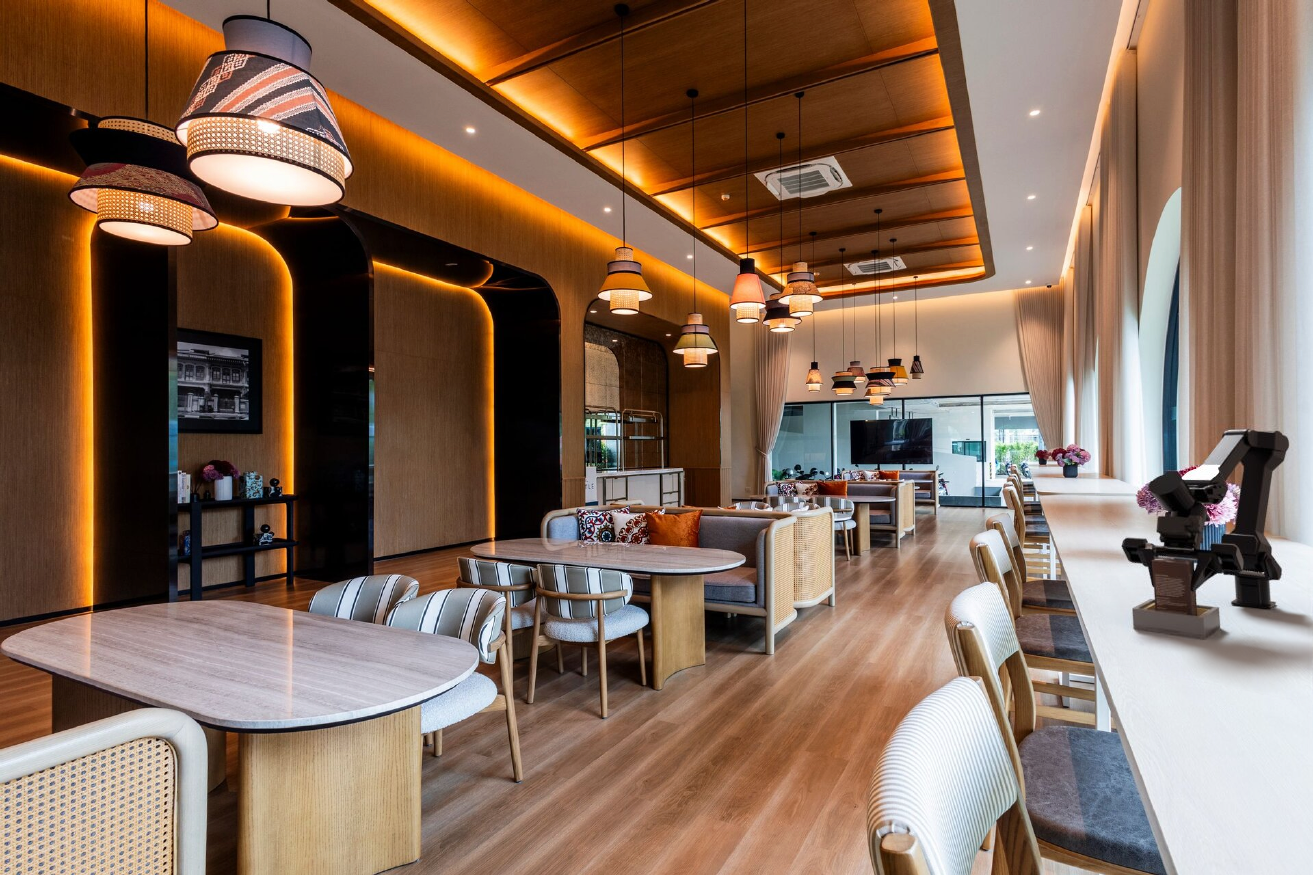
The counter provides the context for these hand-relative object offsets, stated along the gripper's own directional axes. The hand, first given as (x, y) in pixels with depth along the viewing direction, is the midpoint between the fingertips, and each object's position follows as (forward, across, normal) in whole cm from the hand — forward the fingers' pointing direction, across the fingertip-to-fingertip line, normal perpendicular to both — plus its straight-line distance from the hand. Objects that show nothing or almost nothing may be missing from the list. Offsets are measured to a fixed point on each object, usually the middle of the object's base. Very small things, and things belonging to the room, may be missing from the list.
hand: (1172, 588), depth 130 cm
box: (+4, 0, +6) cm, 7 cm away
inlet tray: (+5, 0, +6) cm, 8 cm away
